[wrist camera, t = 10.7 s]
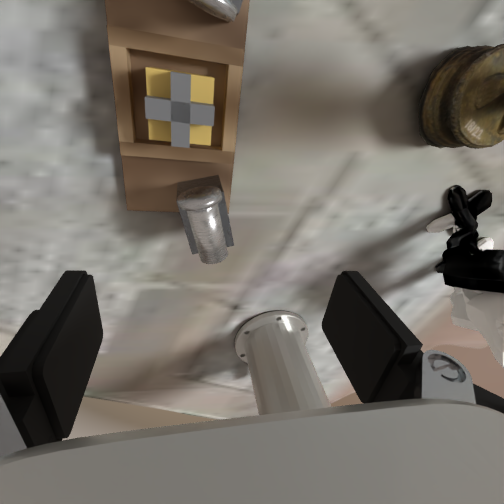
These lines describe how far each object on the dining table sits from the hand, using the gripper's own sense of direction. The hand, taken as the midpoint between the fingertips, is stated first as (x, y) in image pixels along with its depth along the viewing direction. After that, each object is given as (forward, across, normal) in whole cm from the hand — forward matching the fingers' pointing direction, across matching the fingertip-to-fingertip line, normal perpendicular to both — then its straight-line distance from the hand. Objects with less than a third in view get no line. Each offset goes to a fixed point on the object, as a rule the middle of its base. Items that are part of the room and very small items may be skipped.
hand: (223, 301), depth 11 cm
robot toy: (+24, -38, +9) cm, 46 cm away
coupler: (+22, +2, -5) cm, 22 cm away
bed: (+22, +2, -6) cm, 23 cm away
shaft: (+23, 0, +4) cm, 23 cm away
